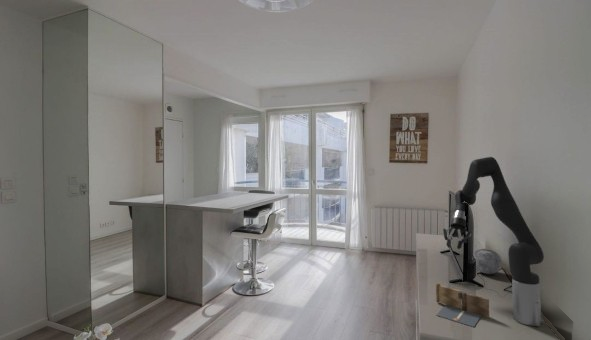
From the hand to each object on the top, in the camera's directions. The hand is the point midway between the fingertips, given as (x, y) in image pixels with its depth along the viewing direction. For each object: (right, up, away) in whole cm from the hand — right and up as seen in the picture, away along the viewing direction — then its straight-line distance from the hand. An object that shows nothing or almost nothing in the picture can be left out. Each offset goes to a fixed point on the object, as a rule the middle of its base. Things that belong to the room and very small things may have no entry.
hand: (453, 247), depth 156 cm
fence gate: (-9, -24, -13) cm, 29 cm away
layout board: (-8, -25, -21) cm, 33 cm away
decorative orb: (+34, -23, +26) cm, 48 cm away
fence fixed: (-1, -24, -21) cm, 32 cm away
